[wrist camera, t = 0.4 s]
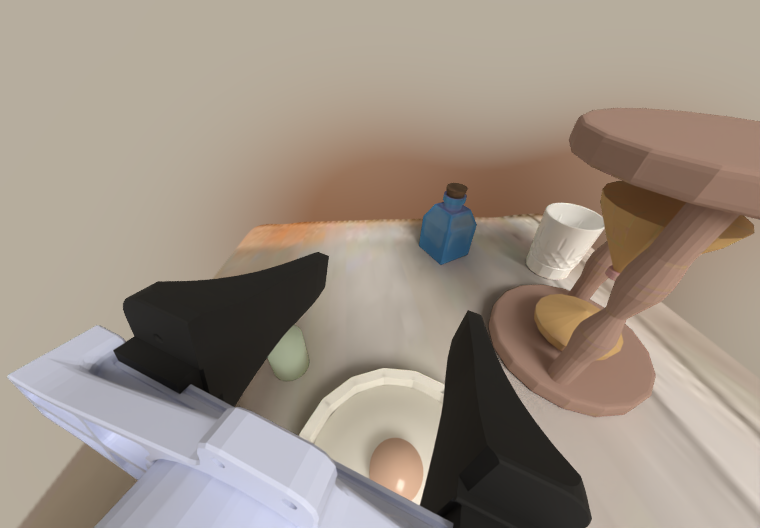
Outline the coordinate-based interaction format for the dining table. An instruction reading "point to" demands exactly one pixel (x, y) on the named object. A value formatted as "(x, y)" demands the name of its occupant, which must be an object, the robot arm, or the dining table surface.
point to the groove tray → (381, 427)
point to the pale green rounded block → (290, 356)
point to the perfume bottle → (448, 226)
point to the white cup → (563, 239)
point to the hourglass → (631, 251)
